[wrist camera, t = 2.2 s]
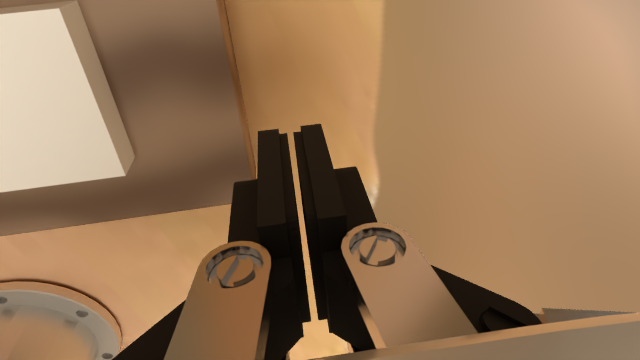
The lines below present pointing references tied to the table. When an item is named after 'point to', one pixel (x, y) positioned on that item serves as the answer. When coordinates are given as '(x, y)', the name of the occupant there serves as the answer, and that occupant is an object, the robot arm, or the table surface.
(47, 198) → the deck
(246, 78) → the table surface
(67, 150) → the cream block
